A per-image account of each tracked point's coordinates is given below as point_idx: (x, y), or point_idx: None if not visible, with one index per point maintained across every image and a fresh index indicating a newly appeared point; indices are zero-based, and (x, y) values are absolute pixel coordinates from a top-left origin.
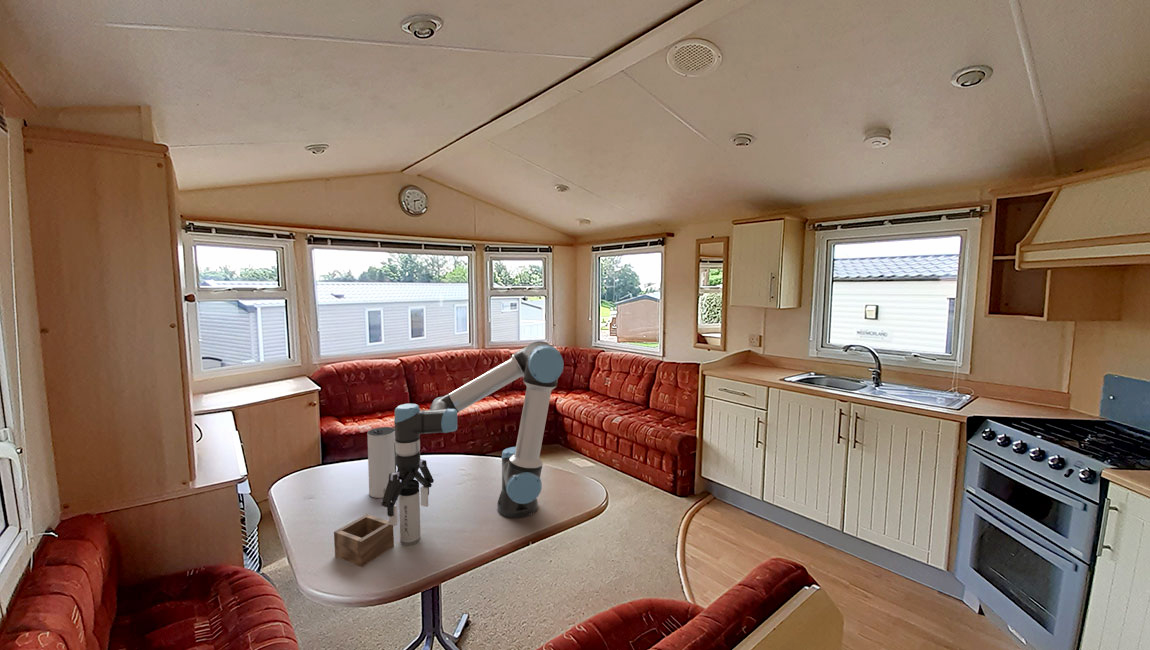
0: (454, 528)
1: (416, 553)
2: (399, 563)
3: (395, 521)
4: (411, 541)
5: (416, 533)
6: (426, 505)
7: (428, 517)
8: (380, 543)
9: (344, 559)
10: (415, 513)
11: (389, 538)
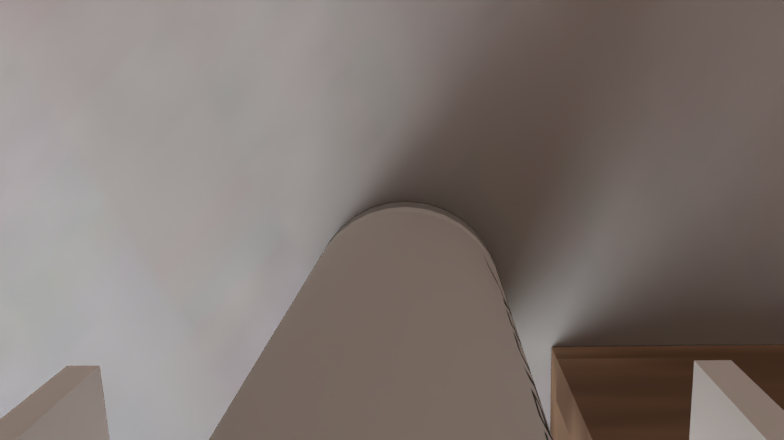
0: (34, 59)
1: (542, 72)
2: (736, 92)
3: (763, 393)
4: (464, 226)
5: (411, 222)
6: (88, 381)
7: None
8: None
9: None
10: (412, 301)
11: (628, 393)
